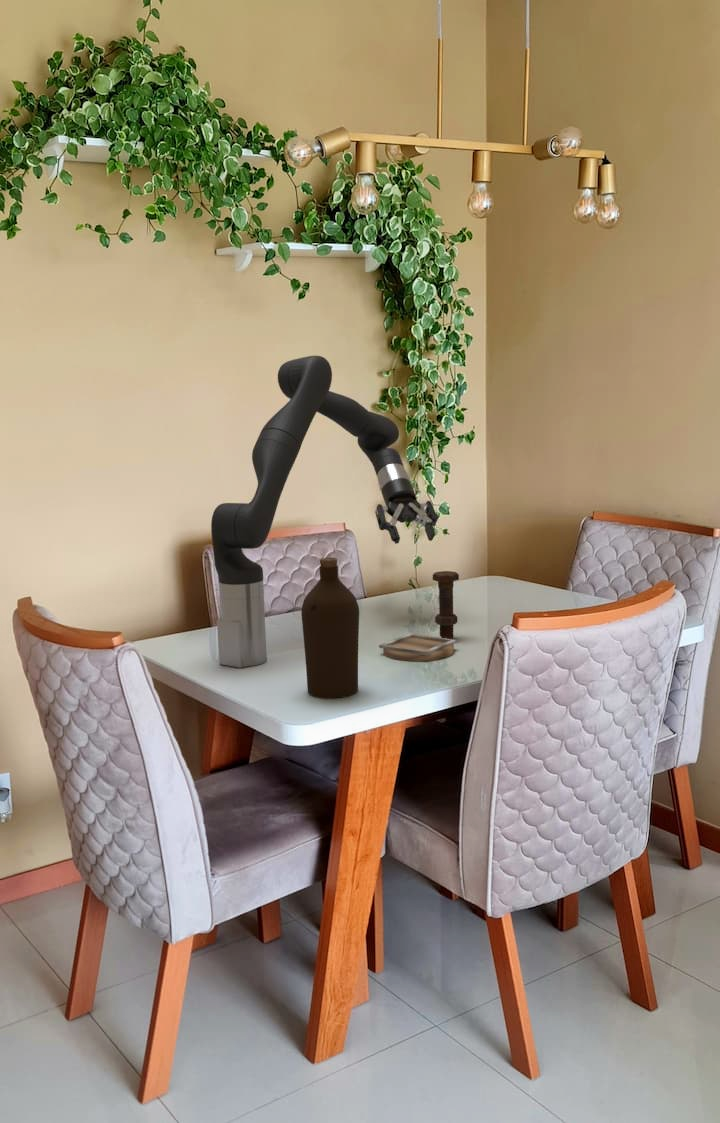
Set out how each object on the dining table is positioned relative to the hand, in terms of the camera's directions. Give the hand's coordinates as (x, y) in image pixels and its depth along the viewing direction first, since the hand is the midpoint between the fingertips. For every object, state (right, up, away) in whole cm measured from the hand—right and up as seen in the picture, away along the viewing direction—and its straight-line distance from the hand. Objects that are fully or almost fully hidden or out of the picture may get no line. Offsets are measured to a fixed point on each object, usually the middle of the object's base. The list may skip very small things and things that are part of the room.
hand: (414, 540), depth 231 cm
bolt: (+7, -23, -9) cm, 25 cm away
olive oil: (-18, -29, -46) cm, 57 cm away
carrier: (0, -24, -20) cm, 31 cm away
